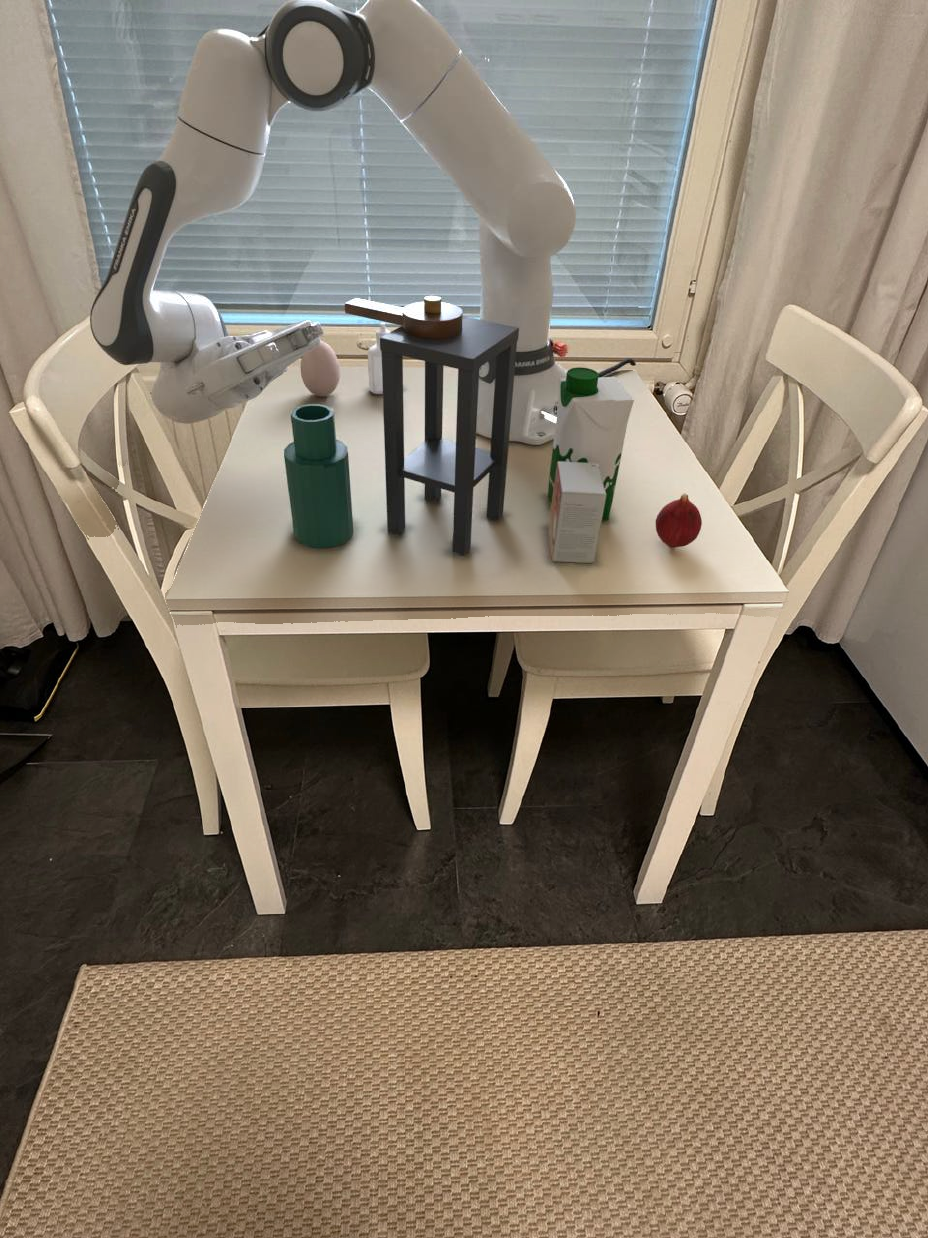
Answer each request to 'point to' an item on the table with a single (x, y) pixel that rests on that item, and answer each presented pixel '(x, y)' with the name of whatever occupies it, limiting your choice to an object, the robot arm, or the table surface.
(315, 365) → the egg
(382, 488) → the table surface
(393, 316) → the lid
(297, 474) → the bottle
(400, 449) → the stand
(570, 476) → the small box
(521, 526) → the table surface
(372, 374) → the white tall narrow container
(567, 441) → the milk carton
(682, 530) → the onion
